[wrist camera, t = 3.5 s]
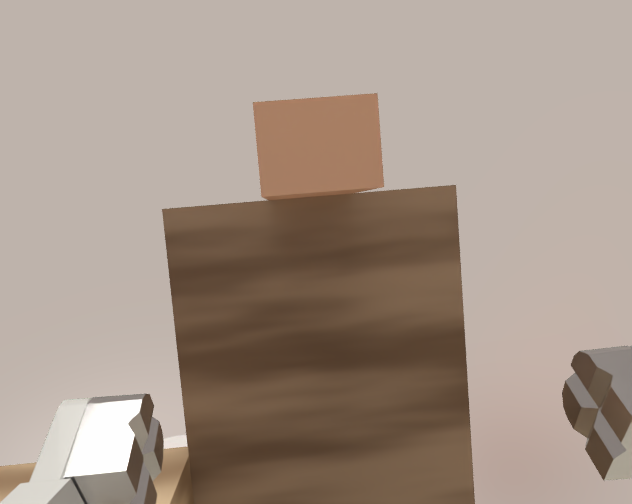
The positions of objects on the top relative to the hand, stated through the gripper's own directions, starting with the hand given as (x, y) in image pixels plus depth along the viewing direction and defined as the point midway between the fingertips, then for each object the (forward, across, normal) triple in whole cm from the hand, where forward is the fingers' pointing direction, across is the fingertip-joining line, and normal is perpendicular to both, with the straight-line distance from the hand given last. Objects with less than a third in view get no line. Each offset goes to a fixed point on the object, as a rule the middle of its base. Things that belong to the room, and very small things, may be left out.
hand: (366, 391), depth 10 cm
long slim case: (+17, 0, +5) cm, 18 cm away
